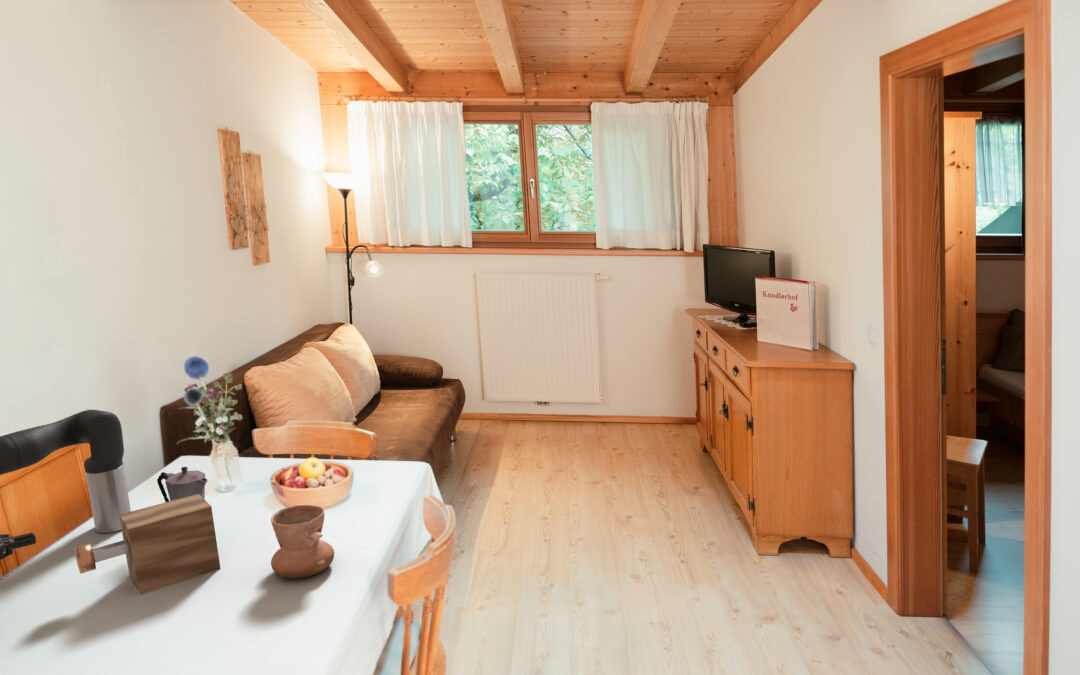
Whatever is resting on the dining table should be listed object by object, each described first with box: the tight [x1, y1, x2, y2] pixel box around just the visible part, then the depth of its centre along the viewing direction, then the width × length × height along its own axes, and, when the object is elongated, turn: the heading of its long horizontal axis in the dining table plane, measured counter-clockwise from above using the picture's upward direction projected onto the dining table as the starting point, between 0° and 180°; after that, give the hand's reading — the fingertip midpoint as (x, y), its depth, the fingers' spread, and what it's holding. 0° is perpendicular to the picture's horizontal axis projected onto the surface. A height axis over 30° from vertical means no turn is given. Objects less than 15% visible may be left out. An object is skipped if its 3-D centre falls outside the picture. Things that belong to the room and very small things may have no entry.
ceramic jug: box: [270, 504, 335, 579], centre depth 192 cm, size 18×14×14 cm
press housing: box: [119, 494, 221, 595], centre depth 193 cm, size 11×18×16 cm, turn 127°
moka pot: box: [156, 466, 209, 503], centre depth 211 cm, size 10×15×20 cm, turn 78°
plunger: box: [74, 539, 130, 575], centre depth 188 cm, size 6×21×6 cm, turn 127°
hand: (35, 537), depth 176 cm, fingers closed
